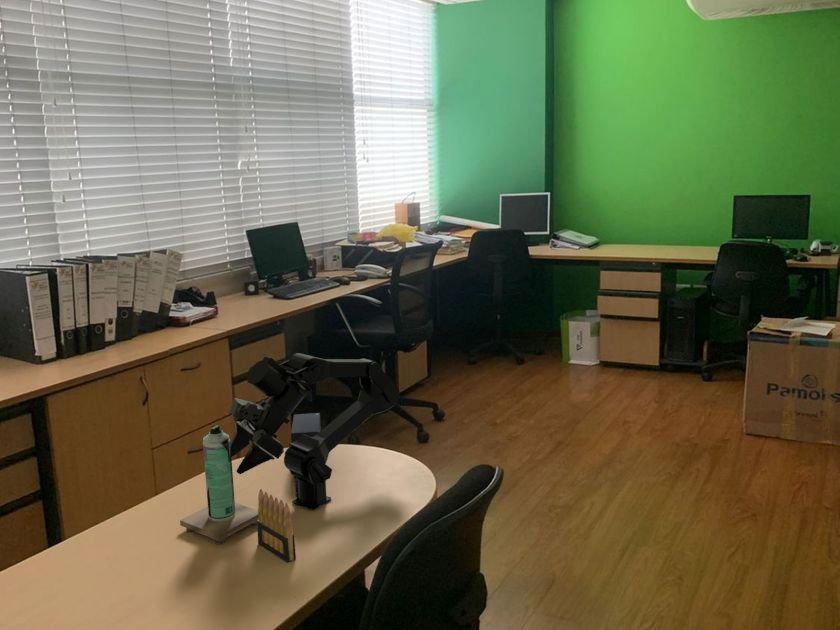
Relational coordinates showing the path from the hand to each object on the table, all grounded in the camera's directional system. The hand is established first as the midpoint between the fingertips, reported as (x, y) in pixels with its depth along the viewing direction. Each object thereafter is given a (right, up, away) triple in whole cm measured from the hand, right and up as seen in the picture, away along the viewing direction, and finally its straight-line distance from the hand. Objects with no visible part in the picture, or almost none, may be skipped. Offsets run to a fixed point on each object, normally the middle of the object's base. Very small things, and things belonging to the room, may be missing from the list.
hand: (232, 465), depth 163 cm
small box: (+12, -7, +31) cm, 34 cm away
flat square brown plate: (-2, -13, +1) cm, 14 cm away
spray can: (-2, -11, +1) cm, 11 cm away
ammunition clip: (+11, -16, -9) cm, 21 cm away
